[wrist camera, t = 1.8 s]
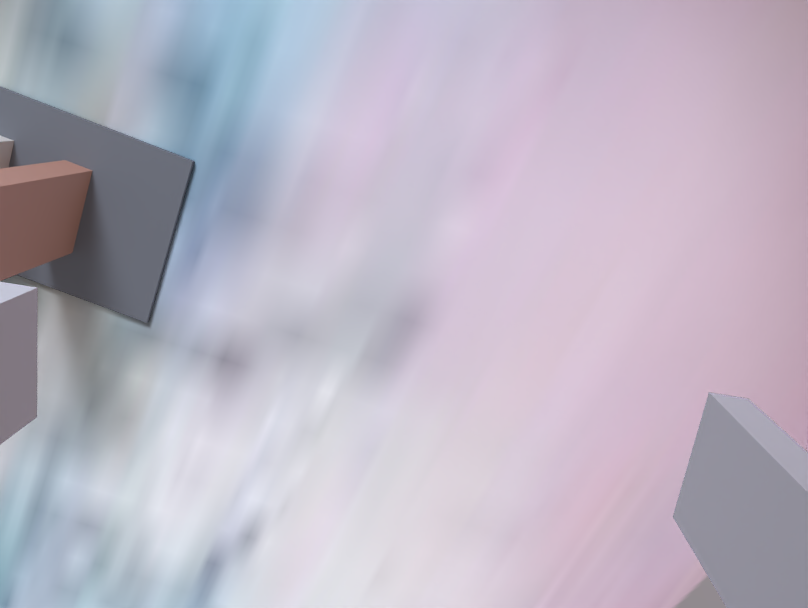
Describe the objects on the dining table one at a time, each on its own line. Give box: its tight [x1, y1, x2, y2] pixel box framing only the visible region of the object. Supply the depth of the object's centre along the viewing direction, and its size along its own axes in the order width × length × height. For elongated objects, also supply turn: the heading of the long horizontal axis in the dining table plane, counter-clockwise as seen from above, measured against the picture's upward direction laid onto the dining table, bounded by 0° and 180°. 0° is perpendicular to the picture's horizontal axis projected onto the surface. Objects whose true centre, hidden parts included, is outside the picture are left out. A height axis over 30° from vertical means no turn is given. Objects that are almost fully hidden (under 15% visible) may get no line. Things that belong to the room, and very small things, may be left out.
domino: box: [0, 160, 92, 281], centre depth 34 cm, size 2×5×10 cm, turn 159°
